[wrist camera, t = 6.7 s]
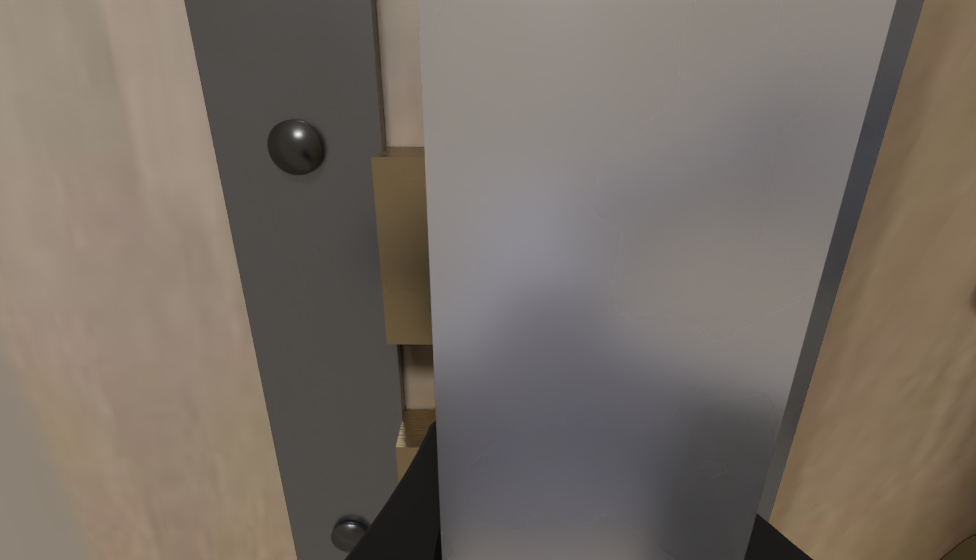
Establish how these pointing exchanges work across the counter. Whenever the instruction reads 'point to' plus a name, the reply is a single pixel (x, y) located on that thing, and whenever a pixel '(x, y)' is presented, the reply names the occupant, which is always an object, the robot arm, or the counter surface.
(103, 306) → the counter surface
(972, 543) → the cork
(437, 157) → the aluminum bar stock
